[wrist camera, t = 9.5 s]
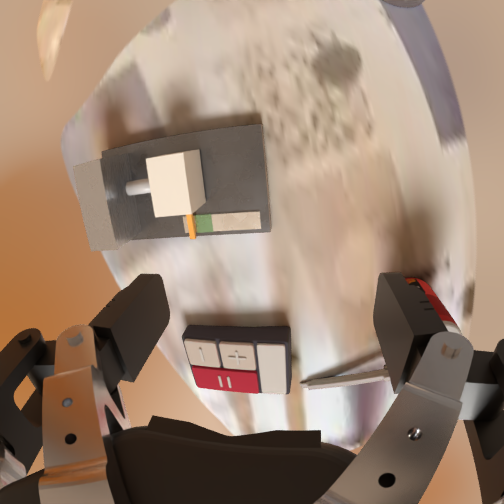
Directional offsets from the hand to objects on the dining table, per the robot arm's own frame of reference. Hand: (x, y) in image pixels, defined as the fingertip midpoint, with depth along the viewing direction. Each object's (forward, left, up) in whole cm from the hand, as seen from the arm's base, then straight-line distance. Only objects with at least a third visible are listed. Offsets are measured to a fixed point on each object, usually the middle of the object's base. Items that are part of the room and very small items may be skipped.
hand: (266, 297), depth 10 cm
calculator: (+25, -8, -25) cm, 36 cm away
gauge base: (-1, -12, -24) cm, 27 cm away
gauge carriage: (0, -13, -22) cm, 26 cm away
